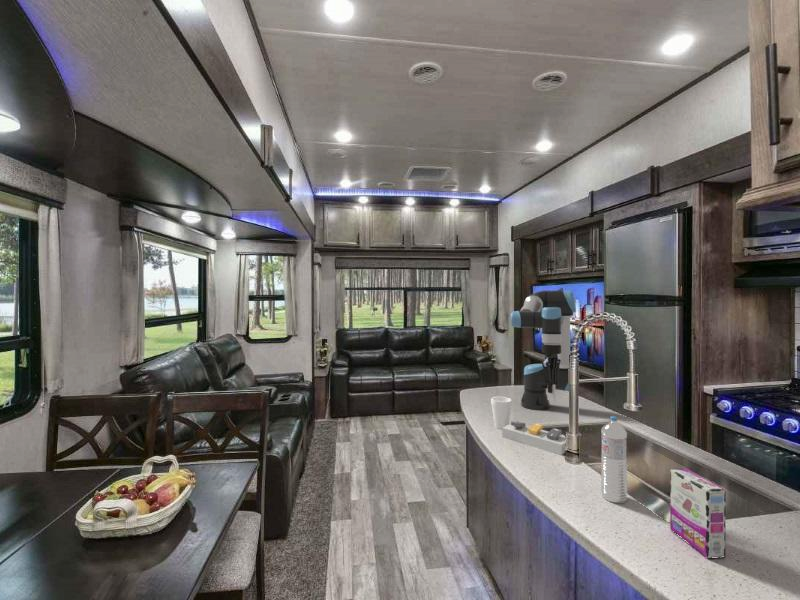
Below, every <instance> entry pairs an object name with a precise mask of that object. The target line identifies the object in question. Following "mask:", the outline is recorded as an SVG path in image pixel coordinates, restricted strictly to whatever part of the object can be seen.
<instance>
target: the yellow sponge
mask: <svg viewBox="0 0 800 600" xmlns="http://www.w3.org/2000/svg"><path fill="white" fill-rule="evenodd" d="M529 427H530V428H529V429H528V433H532V434H535V435H537V434H538V433H539V432H540V431H541V430H544V425H543V424H539V423H535V422H534V423H533V424H532V425H531V426H529Z"/></svg>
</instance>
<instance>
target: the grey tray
mask: <svg viewBox="0 0 800 600" xmlns="http://www.w3.org/2000/svg"><path fill="white" fill-rule="evenodd" d="M530 427H531V426H529V425H526V424H525V427H516V426H512V425H511V423H509V425H507V426H505V427H503V428H502V429H501V437H502V438H505V439H508V440H511V441H514V442H518V443H521V444H524V445H528V446H531V447H534V448H538V449H540V450H544V451H546V452H550V453H553V454H557V455H560V456H562V455H564V454H566V452H565V444H566V438H565V436H566V435H563V434H561V435H560V436H559V437H558V438H557V439H556V440H553V439H550V438H547V434H548V433H549V432H550V431H547V430H544V429H542V430H541V431H540V432H539V433H538V434H537V435H535V434H532V433H528V429H529V428H530ZM578 452H579V455H578V456H582V457H584V458H589V454H588V453H585V452H581V451H578Z"/></svg>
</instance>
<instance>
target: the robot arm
mask: <svg viewBox="0 0 800 600" xmlns="http://www.w3.org/2000/svg"><path fill="white" fill-rule="evenodd" d="M575 299H576V298H575V293H574V291H572V290H568V289H567V290H565V289H564V290H563V289H561V290H559V289H557V290H539V291H536V292H533V293H531V294H530V295H528V296H527V297H526V298H525V300H524V302H523V306H522V307H521V309H520V310H516V311H514V310H513V311H512V312H511V313H510V325H511V327H513V328H519V329H520V328H524V329H525V328H526V329H529V328H530V329H541V343H542V344H541V353H542V354H544V361H541V363H533V364H528V365H525V366H524V369H523V384H524V385H523V394H522V397H521V399H520V406H522V407H523V408H525V409H529V410H538V411H543V410H549V408H550V406H551V405H550V401H552V402H555V401H556V390H557V391H564V392H565V391H569V384H568V369H569V355H570V356H571V318H572V317H574V313H576V312H577V307H576V306H577V305H576V300H575ZM569 392H570V391H569Z"/></svg>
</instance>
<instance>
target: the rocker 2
mask: <svg viewBox="0 0 800 600" xmlns="http://www.w3.org/2000/svg"><path fill="white" fill-rule="evenodd" d="M548 432H549V433H548V434H547V438H550V439H553V440H556V439H557V438H558V437H559V436H560V435H563V431H562V429H559V428H554V427H551V429H550V431H548Z"/></svg>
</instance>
